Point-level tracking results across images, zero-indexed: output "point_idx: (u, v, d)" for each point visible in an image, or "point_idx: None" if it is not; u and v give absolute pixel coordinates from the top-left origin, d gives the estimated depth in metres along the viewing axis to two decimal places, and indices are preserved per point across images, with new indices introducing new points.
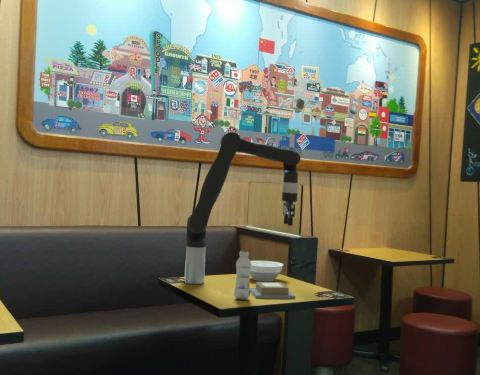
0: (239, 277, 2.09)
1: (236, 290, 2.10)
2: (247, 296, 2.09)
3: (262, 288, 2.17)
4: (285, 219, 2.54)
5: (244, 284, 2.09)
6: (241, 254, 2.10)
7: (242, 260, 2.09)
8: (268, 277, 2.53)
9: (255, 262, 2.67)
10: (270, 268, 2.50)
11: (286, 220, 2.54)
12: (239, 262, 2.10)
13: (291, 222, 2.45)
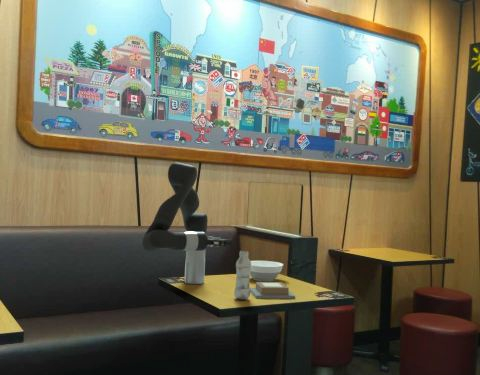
0: (239, 277, 2.09)
1: (236, 290, 2.10)
2: (247, 296, 2.09)
3: (262, 288, 2.17)
4: None
5: (244, 284, 2.09)
6: (241, 254, 2.10)
7: (242, 260, 2.09)
8: (268, 277, 2.53)
9: (255, 262, 2.67)
10: (270, 268, 2.50)
11: None
12: (239, 262, 2.10)
13: None
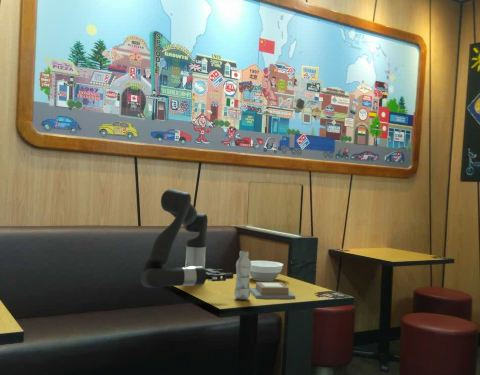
0: (239, 277, 2.09)
1: (236, 290, 2.10)
2: (247, 296, 2.09)
3: (262, 288, 2.17)
4: None
5: (244, 284, 2.09)
6: (241, 254, 2.10)
7: (242, 260, 2.09)
8: (268, 277, 2.53)
9: (255, 262, 2.67)
10: (270, 268, 2.50)
11: None
12: (239, 262, 2.10)
13: None
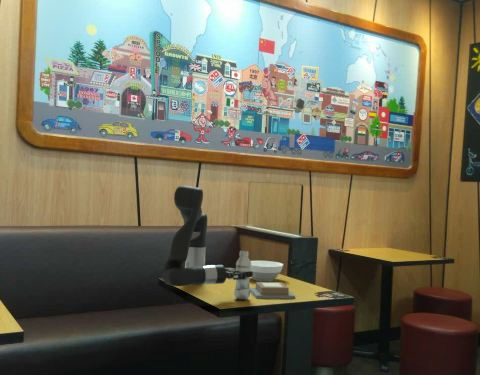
0: None
1: (236, 290, 2.10)
2: (247, 296, 2.09)
3: (262, 288, 2.17)
4: None
5: (244, 284, 2.09)
6: (241, 254, 2.10)
7: (242, 260, 2.09)
8: (268, 277, 2.53)
9: (255, 262, 2.67)
10: (270, 268, 2.50)
11: None
12: (239, 262, 2.10)
13: None
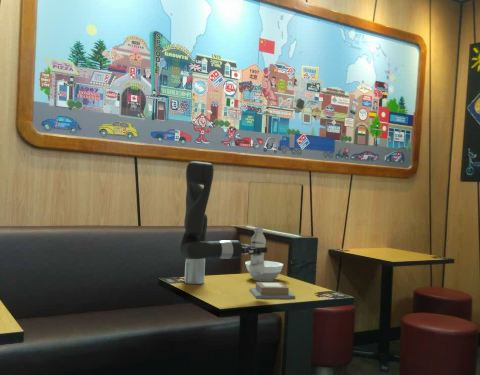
0: None
1: (251, 265, 2.16)
2: (262, 271, 2.15)
3: (262, 288, 2.17)
4: None
5: (259, 260, 2.15)
6: (256, 230, 2.16)
7: (257, 236, 2.15)
8: (268, 277, 2.53)
9: None
10: (270, 268, 2.50)
11: None
12: (254, 238, 2.15)
13: None
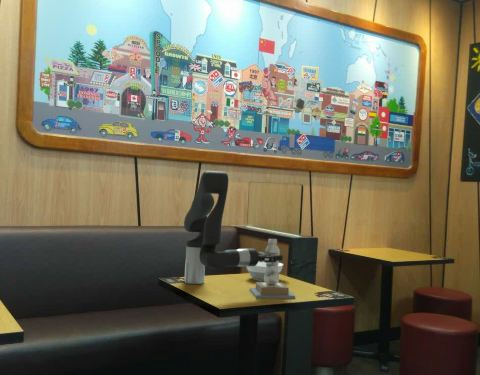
0: (269, 263, 2.22)
1: (266, 276, 2.22)
2: (277, 281, 2.22)
3: (262, 288, 2.17)
4: None
5: (274, 270, 2.22)
6: (270, 242, 2.22)
7: (271, 247, 2.22)
8: None
9: None
10: None
11: None
12: (268, 249, 2.22)
13: None
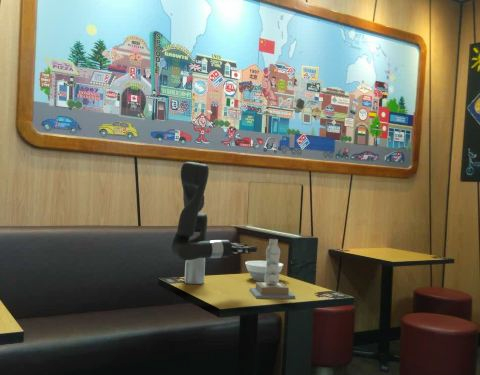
0: (269, 263, 2.22)
1: (266, 276, 2.22)
2: (277, 281, 2.22)
3: (262, 288, 2.17)
4: None
5: (274, 270, 2.22)
6: (271, 242, 2.22)
7: (272, 247, 2.22)
8: None
9: (255, 262, 2.67)
10: None
11: None
12: (269, 249, 2.22)
13: None
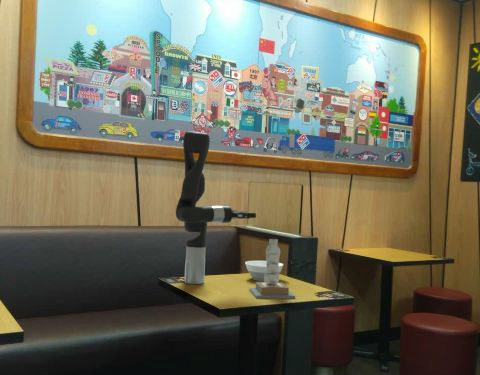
0: (269, 263, 2.22)
1: (266, 276, 2.22)
2: (277, 281, 2.22)
3: (262, 288, 2.17)
4: None
5: (274, 270, 2.22)
6: (271, 242, 2.22)
7: (272, 247, 2.22)
8: None
9: (255, 262, 2.67)
10: None
11: None
12: (269, 249, 2.22)
13: None
